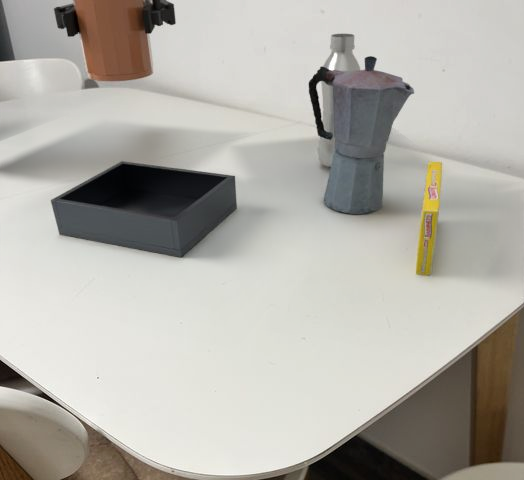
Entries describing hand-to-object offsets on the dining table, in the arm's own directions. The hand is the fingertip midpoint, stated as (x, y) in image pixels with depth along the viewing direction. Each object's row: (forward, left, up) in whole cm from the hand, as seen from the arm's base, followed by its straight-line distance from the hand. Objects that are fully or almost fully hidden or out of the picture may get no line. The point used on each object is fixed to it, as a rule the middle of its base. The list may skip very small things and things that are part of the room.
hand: (107, 23), depth 75 cm
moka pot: (+32, +9, -24) cm, 41 cm away
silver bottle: (+25, +24, -24) cm, 42 cm away
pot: (-2, +4, -7) cm, 8 cm away
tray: (+7, -7, -24) cm, 26 cm away
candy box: (+45, -1, -24) cm, 51 cm away
